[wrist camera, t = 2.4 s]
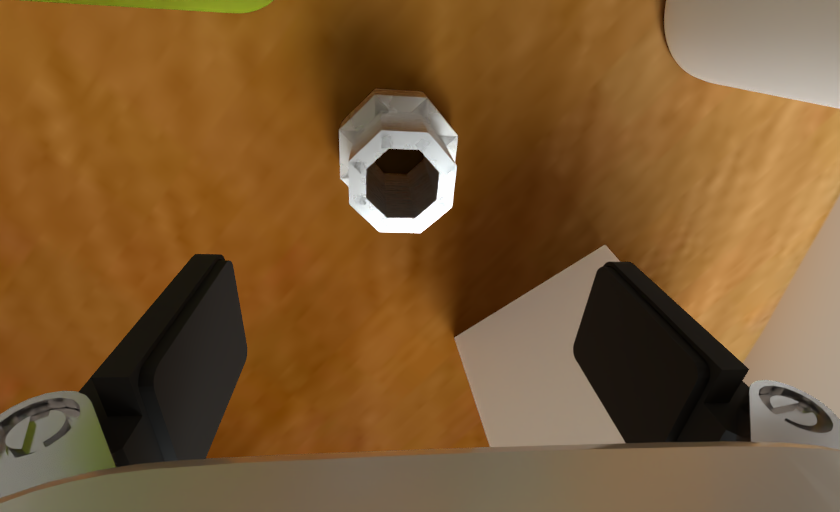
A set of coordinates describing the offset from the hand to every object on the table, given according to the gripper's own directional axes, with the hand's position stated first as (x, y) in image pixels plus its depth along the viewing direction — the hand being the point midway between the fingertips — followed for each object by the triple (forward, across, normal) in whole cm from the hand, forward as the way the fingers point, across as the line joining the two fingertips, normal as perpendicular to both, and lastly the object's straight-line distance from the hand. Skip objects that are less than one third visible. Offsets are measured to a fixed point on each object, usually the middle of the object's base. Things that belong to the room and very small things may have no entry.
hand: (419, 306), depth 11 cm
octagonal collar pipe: (+14, 0, -1) cm, 14 cm away
